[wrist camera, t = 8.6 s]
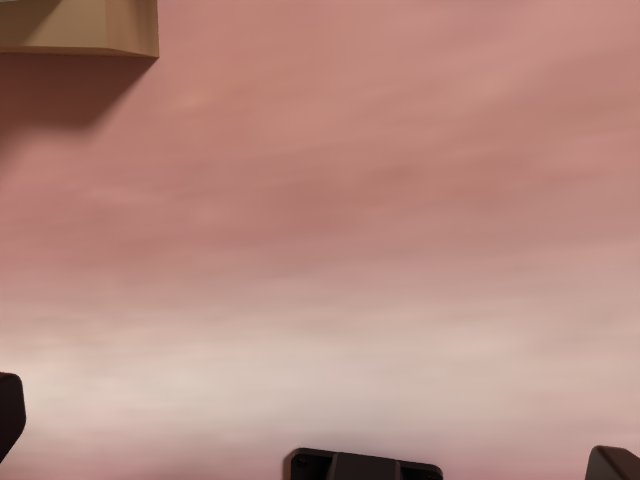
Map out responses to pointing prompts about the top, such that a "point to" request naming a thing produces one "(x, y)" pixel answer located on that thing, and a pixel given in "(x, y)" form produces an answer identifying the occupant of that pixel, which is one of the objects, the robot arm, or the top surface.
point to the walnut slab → (80, 27)
